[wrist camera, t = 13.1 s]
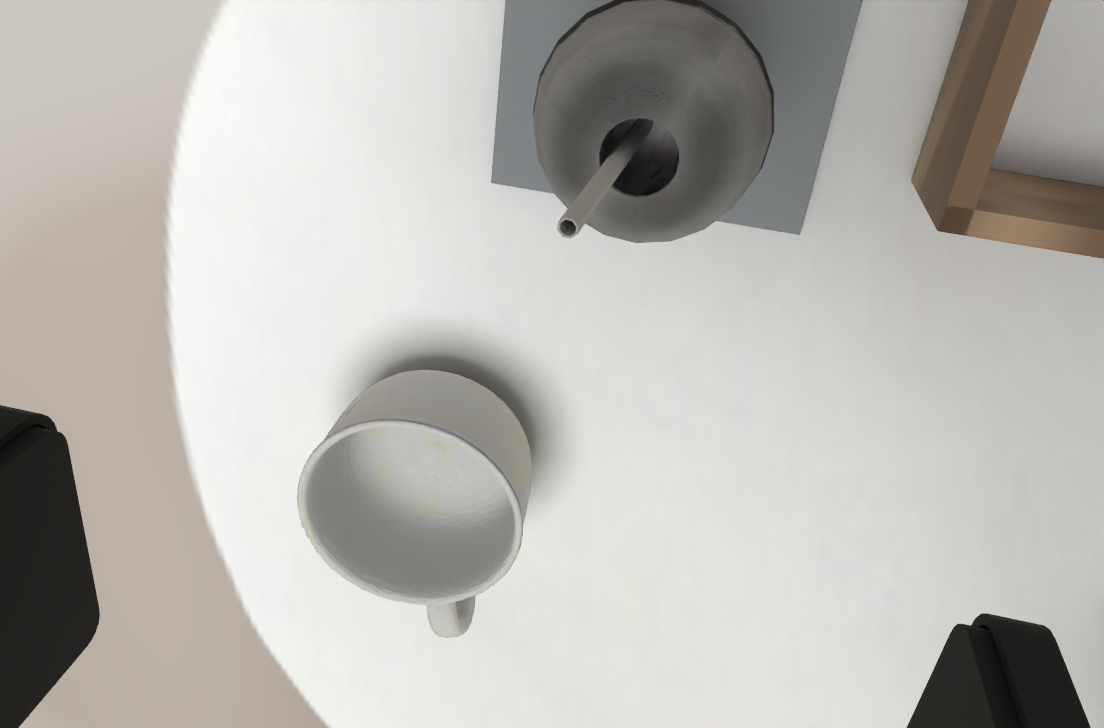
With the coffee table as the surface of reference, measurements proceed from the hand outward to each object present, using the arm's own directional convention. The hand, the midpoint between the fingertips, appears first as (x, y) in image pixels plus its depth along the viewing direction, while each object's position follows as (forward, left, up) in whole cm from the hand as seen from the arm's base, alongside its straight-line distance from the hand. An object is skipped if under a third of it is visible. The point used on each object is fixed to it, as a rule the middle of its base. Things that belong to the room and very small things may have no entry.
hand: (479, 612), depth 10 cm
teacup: (+8, +23, -33) cm, 41 cm away
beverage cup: (0, 0, -32) cm, 32 cm away
